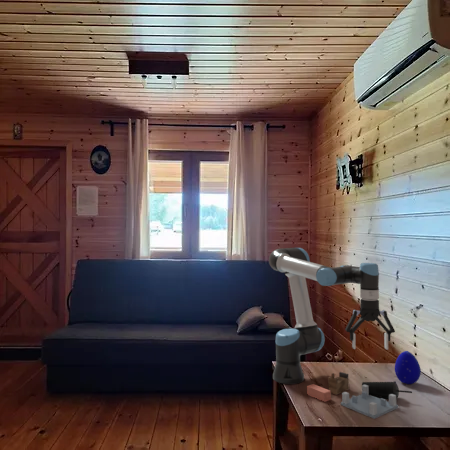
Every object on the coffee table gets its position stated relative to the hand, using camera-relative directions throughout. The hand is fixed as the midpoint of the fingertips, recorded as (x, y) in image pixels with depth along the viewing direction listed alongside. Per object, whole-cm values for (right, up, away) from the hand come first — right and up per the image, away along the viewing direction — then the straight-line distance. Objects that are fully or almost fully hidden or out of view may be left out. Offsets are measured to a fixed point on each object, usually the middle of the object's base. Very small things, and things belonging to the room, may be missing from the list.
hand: (370, 348), depth 176 cm
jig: (-3, -21, -8) cm, 23 cm away
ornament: (+23, -22, +16) cm, 36 cm away
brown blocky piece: (-11, -22, +9) cm, 26 cm away
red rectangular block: (-21, -22, +2) cm, 31 cm away
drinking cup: (-1, -19, +6) cm, 20 cm away
